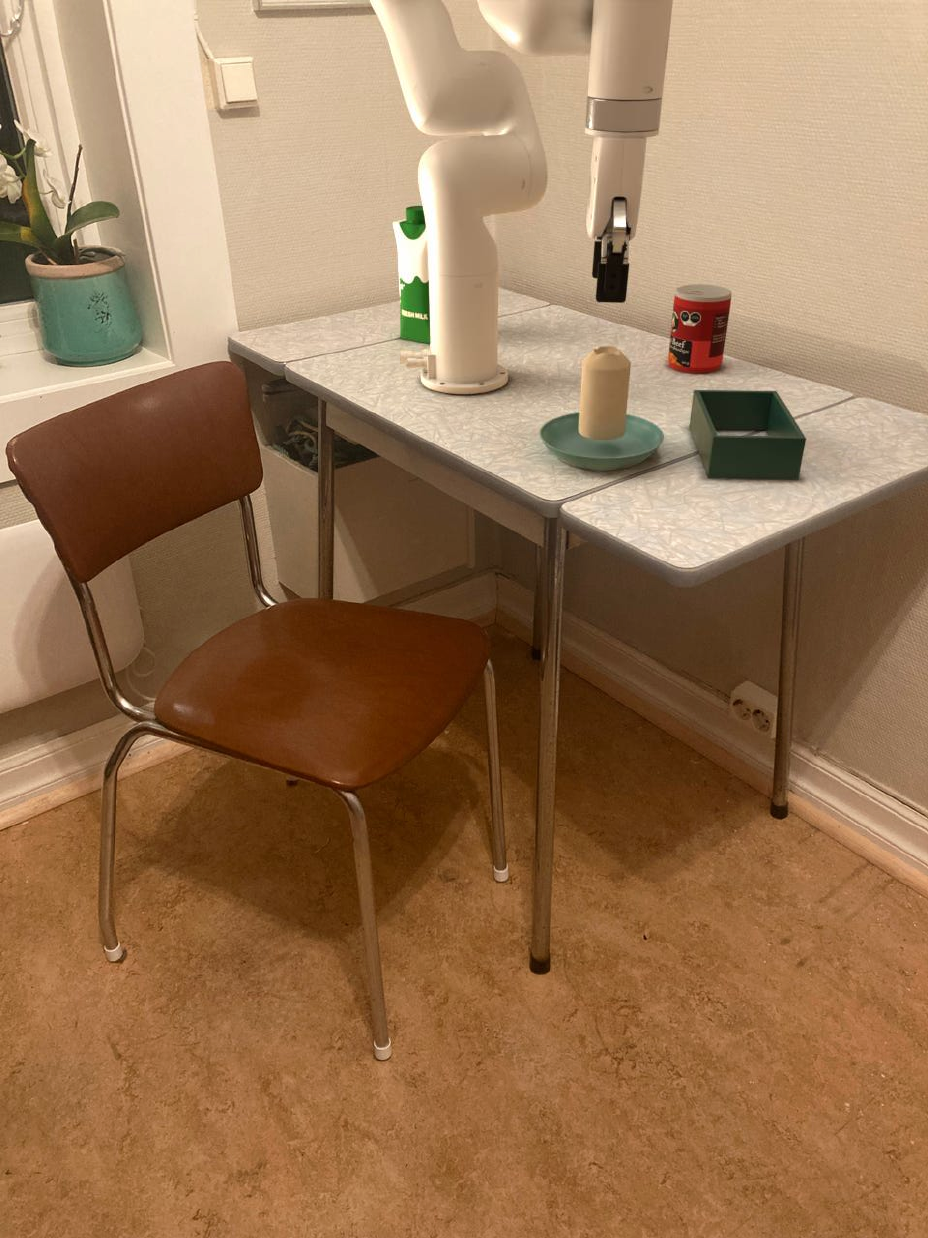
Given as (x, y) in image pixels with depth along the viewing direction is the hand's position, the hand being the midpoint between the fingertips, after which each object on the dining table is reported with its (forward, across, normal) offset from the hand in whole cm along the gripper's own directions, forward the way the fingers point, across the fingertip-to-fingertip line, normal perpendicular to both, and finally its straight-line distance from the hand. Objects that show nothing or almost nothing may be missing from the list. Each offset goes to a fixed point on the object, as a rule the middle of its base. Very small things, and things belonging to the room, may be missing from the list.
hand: (607, 289), depth 107 cm
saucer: (+19, +2, +1) cm, 19 cm away
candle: (+16, +2, +1) cm, 17 cm away
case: (+19, +1, +18) cm, 26 cm away
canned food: (+20, -32, +16) cm, 41 cm away
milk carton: (+21, -46, -25) cm, 56 cm away
